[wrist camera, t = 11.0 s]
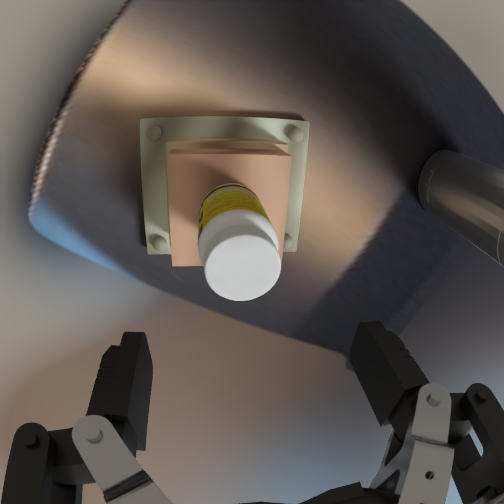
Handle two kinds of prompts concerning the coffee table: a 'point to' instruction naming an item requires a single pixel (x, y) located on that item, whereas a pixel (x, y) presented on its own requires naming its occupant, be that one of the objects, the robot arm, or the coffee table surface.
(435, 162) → the robot arm
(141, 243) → the coffee table surface
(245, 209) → the supplement bottle
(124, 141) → the coffee table surface
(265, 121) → the stepped pedestal block
